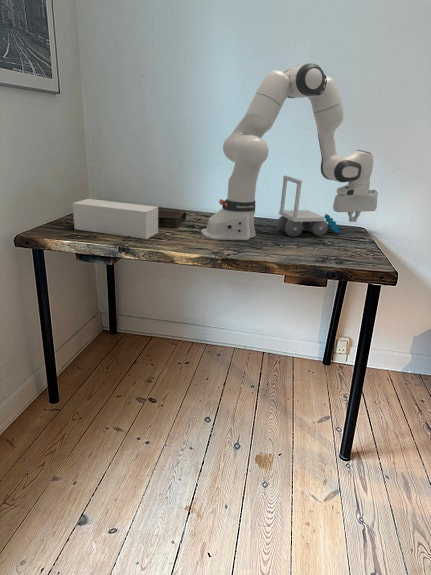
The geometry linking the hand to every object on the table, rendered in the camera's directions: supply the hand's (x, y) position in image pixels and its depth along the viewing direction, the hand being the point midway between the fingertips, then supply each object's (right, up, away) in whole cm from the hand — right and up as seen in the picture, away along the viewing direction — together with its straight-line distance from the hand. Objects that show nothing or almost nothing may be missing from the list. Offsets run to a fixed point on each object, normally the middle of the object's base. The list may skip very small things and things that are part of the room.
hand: (352, 221), depth 182 cm
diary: (-88, -1, +2) cm, 88 cm away
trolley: (-25, -6, -6) cm, 26 cm away
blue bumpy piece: (-10, -5, +1) cm, 11 cm away
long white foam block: (-101, -7, -16) cm, 103 cm away
